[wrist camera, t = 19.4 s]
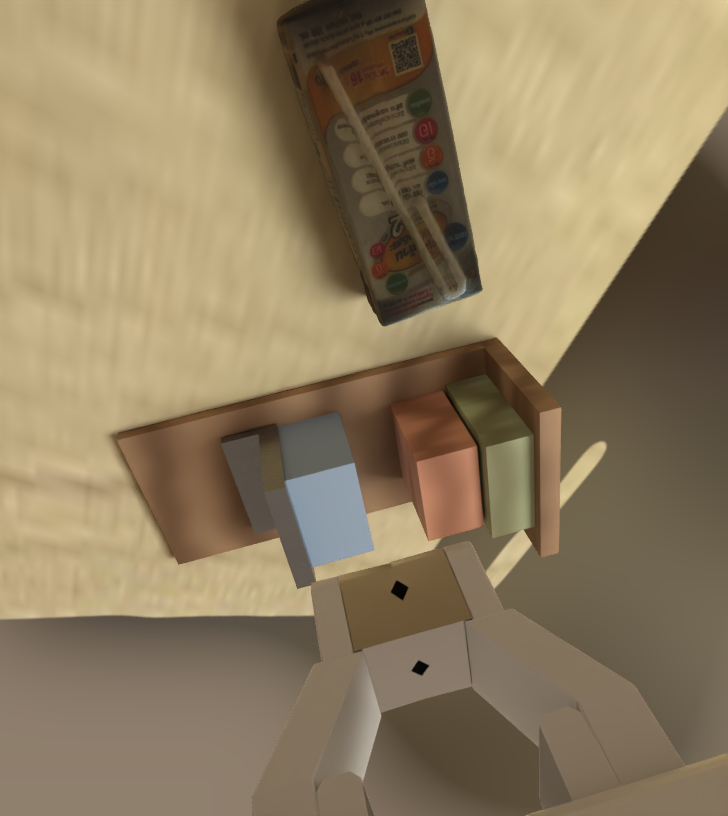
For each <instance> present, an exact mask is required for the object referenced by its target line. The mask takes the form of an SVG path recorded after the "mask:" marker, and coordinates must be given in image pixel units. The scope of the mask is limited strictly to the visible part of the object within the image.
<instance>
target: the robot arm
mask: <svg viewBox="0 0 728 816" xmlns="http://www.w3.org/2000/svg"><path fill="white" fill-rule="evenodd" d="M311 595H312V602H313V609H314V615H315V622H316V628H317V635H318V641H319V648H320V655H321V661H322V662H320V663H317V664H314V665H313V667H312V669H311V671H310V673H309V675H308V678H307V680H306V682H305V684H304V686H303V689H302V691H301V693H300V695H299V697H298V699H297V701H296V703H295V706H294V708H293V710H292V712H291V714H290V716H289V719H288V721H287V723H286V726H285V727H284V729H283V731H282V734H281V736H280V738H279V740H278V742H277V745H276V747H275V749H274V751H273V753H272V755H271V757H270V759H269V762H268V764H267V766H266V768H265V770H264V772H263V775H262V777H261V779H260V781H259V783H258V785H257V787H256V790H255V792H254V794H253V796H252V816H374V814H373V811H372V808H371V805H370V802H369V799H368V797H367V793H366V791H365V788H364V785H363V778H364V775H365V771H366V768H367V764H368V761H369V757H370V754H371V750H372V747H373V743H374V740H375V736H376V733H377V729H378V725H379V722H380V718H381V714H380V713H382V712H384V711H388V710H391V709H394V708H397V707H400V706H403V705H406V704H410V703H412V702H415V701H419V700H422V699H425V698H429V697H432V696H436V695H440V694H444V693H448V692H452V691H456V690H459V689H463V688H467V687H471V686H473V689H474V690H475V691H476V692H477V693H479V694H480V695H481V696H482V697H483V698H484V699H485V700H486V701H488V702H489V703H490V704H491V705H492V706H493V707H494V708H495V709H497V710H498V711H499V712H500V713H501V714H502V715H503V716H505V718H507V719H508V720H509V721H510V722H511V723H512V724H513V725H514V726H516V727H517V728H518V729H519V730H520V731H521V732H522V733H523V734H525V735H526V736H527V737H528V738H529V739H530V740H531V741H532V742H533V743H535V744H536V745H537V746H538V747H539V781H540V782H539V789H540V790H539V796H540V797H539V798H540V799H539V800H540V802H541V805H542V807H543V810H542V811H538V812H535V813H532V814H528V815H525V816H728V753H726V754H723V755H720V756H716V757H713V758H710V759H707V760H704V761H700V762H697V763H694V764H691V765H687V766H685V765H684V763H683V761H682V760H681V758H680V757H679V755H678V753H677V752H676V750H675V749H674V747H673V746H672V744H671V742H670V741H669V739H668V738H667V736H666V734H665V733H664V731H663V730H662V728H661V726H660V725H659V723H658V722H657V720H656V719H655V717H654V715H653V714H652V712H651V711H650V709H649V707H648V706H647V704H646V703H645V701H644V700H643V698H642V696H641V695H640V693H639V692H638V690H637V688H636V687H635V686H634V685H633V684H632V683H630V682H628V681H627V680H625V679H624V678H622V677H621V676H619V675H618V674H616V673H614V672H613V671H611V670H610V669H608V668H606V667H605V666H603V665H602V664H600V663H598V662H597V661H595V660H594V659H592V658H590V657H589V656H587V655H586V654H584V653H582V652H581V651H579V650H578V649H576V648H574V647H573V646H571V645H570V644H568V643H566V642H565V641H563V640H562V639H560V638H558V637H557V636H555V635H554V634H552V633H551V632H549V631H547V630H546V629H544V628H543V627H541V626H539V625H538V624H536V623H535V622H533V621H531V620H530V619H528V618H527V617H525V616H523V615H522V614H520V613H518V612H517V611H515V610H514V609H509V610H504V609H503V607H502V605H501V603H500V601H499V599H498V597H497V595H496V593H495V591H494V588H493V586H492V584H491V582H490V580H489V578H488V576H487V574H486V572H485V570H484V568H483V566H482V564H481V562H480V560H479V558H478V556H477V554H476V552H475V550H474V548H473V546H472V544H471V543H470V542H469V541H465V542H462V543H458V544H454V545H451V546H447V547H444V548H442V549H441V548H439V549H435V550H432V551H428V552H425V553H421V554H418V555H414V556H411V557H407V558H404V559H400V560H397V561H393V562H390V563H389V564H385V565H381V566H376V567H372V568H368V569H364V570H360V571H356V572H352V573H348V574H344V575H340V576H339V577H338V576H337V577H333V578H329V579H325V580H321V581H317V582H313V583H311Z"/></svg>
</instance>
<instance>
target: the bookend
mask: <svg viewBox="0 0 728 816" xmlns="http://www.w3.org/2000/svg"><path fill="white" fill-rule="evenodd" d="M221 446H222V448H223V451H224V454H225V456H226V459H227V462H228V464H229V467H230V469H231V472H232V475H233V477H234V480H235V483H236V485H237V488H238V491H239V493H240V496H241V498H242V501H243V504H244V506H245V509H246V512H247V514H248V517H249V519H250V522H251V525H252V527H253V530H254V533H255V534H259V533H262V532H266V531H270V530H274V529H277V532H278V534H279V537H280V540H281V543H282V546H283V549H284V552H285V554H286V557H287V560H288V563H289V566H290V569H291V572H292V574H293V577H294V580H295V583H296V586H297V589H299V588H303V587H306V586H310V585H311V583H313V582H316V578H315V572H314V567H313V566H312V563H311V560H310V556H309V553H308V550H307V547H306V544H305V541H304V538H303V534H302V531H301V528H300V525H299V522H298V519H297V516H296V513H295V509H294V506H293V503H292V500H291V497H290V494H289V491H288V487H287V484H286V481H285V474H284V467H283V460H282V453H281V446H280V439H279V432H278V427H277V424H274V425H270V426H266V427H262V428H258V429H254V430H250V431H246V432H243V433H239V434H235V435H231V436H227V437H223V438H221Z"/></svg>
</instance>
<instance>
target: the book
mask: <svg viewBox="0 0 728 816" xmlns="http://www.w3.org/2000/svg"><path fill="white" fill-rule="evenodd" d="M278 432H279V439H280V446H281V453H282V460H283V467H284V474H285V481H286V484H287V487H288V491H289V494H290V497H291V500H292V503H293V506H294V509H295V513H296V516H297V519H298V522H299V525H300V528H301V531H302V534H303V538H304V541H305V544H306V547H307V550H308V553H309V556H310V560H311V563H312V566H313V567H316V566H319V565H323V564H327V563H330V562H334V561H337V560H341V559H345V558H348V557H352V556H356V555H359V554H363V553H366V552H370V551H374V546H373V542H372V538H371V533H370V529H369V525H368V520H367V516H366V512H365V507H364V503H363V498H362V494H361V490H360V485H359V481H358V477H357V472H356V468H355V464H354V460H353V457H352V454H351V451H350V447H349V444H348V441H347V438H346V434H345V431H344V428H343V425H342V422H341V418H340V415H339V412H334V413H330V414H326V415H322V416H318V417H314V418H310V419H306V420H303V421H299V422H295V423H291V424H287V425H283V426H279V427H278Z"/></svg>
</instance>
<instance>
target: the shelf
mask: <svg viewBox="0 0 728 816" xmlns="http://www.w3.org/2000/svg"><path fill="white" fill-rule="evenodd" d="M334 412H339V415H340V418H341V422H342V425H343V428H344V431H345V434H346V438H347V441H348V444H349V447H350V451H351V454H352V457H353V460H354V464H355V468H356V472H357V477H358V481H359V485H360V490H361V494H362V498H363V503H364V507H365V512H366V514H367V513H371V512H375V511H378V510H382V509H386V508H390V507H393V506H397V505H401V504H404V503H408V502H413V504H414V507H415V509H416V512H417V514H418V516H419V519H420V521H421V524H422V526H423V529H424V531H425V533H426V536H427V538H428V541H431V540H435V539H438V538H442V537H446V536H449V535H453V534H456V533H460V532H463V531H467V530H471V529H474V528H478V527H482V526H483V522H484V524H485V526H486V528H487V529H488V531H489V533H490V535H491V537H492V538H495V537H499V536H503V535H506V534H510V533H513V532H517V531H520V530H524V531H525V533H526V534H527V536H528V538H529V539H530V541H531V542H532V544H533V546H534V547H535V549H536V550H537V552H538V554H539V555H540V557H545V556H548V555H552V554H556V553H559V508H560V449H561V448H560V447H561V406H560V405H559V404H558V403H557V402H556V401H555V400H554V399H553V398H552V397H551V396H550V395H549V393H548V392H547V391H546V390H545V389H544V388H543V387H542V386H541V385H540V384H539V383H538V382H537V380H536V379H535V378H534V377H533V376H532V375H531V374H530V373H529V372H528V371H527V370H526V368H525V367H524V366H523V365H522V364H521V363H520V362H519V361H518V360H517V359H516V358H515V357H514V355H513V354H512V353H511V352H510V351H509V350H508V349H507V348H506V347H505V346H504V345H503V344H502V342H501V341H500V340H499V339H498V338H495V339H491V340H487V341H483V342H479V343H475V344H471V345H467V346H463V347H459V348H455V349H451V350H447V351H443V352H439V353H435V354H431V355H427V356H423V357H419V358H415V359H411V360H407V361H403V362H399V363H395V364H391V365H388V366H384V367H380V368H376V369H372V370H368V371H364V372H360V373H356V374H352V375H348V376H344V377H340V378H336V379H332V380H328V381H324V382H320V383H316V384H312V385H308V386H304V387H300V388H296V389H292V390H288V391H284V392H280V393H276V394H272V395H268V396H264V397H260V398H256V399H252V400H249V401H245V402H241V403H237V404H233V405H229V406H225V407H221V408H217V409H213V410H209V411H205V412H201V413H197V414H193V415H189V416H185V417H181V418H177V419H173V420H169V421H165V422H161V423H157V424H153V425H149V426H145V427H141V428H137V429H133V430H129V431H125V432H121V433H118V437H117V442H118V444H119V446H120V448H121V450H122V452H123V454H124V456H125V458H126V460H127V462H128V464H129V466H130V468H131V470H132V472H133V474H134V476H135V478H136V480H137V482H138V484H139V486H140V488H141V490H142V492H143V494H144V496H145V498H146V500H147V502H148V504H149V506H150V508H151V510H152V512H153V514H154V516H155V518H156V520H157V522H158V524H159V526H160V528H161V530H162V532H163V534H164V536H165V538H166V540H167V542H168V544H169V546H170V548H171V550H172V552H173V554H174V556H175V558H176V560H177V562H178V564H183V563H186V562H190V561H194V560H197V559H201V558H205V557H209V556H212V555H216V554H220V553H223V552H227V551H231V550H234V549H238V548H242V547H245V546H249V545H253V544H257V543H260V542H264V541H268V540H271V539H275V538H279V534H278V532H277V529H274V530H270V531H266V532H262V533H259V534H255V533H254V530H253V527H252V525H251V522H250V519H249V517H248V514H247V512H246V509H245V506H244V504H243V501H242V498H241V496H240V493H239V491H238V488H237V485H236V483H235V480H234V477H233V475H232V472H231V469H230V467H229V464H228V462H227V459H226V456H225V454H224V451H223V448H222V446H221V438H223V437H227V436H231V435H235V434H239V433H243V432H246V431H250V430H254V429H258V428H262V427H266V426H270V425H274V424H277V427H279V426H283V425H287V424H291V423H295V422H299V421H303V420H306V419H310V418H314V417H318V416H322V415H326V414H330V413H334Z"/></svg>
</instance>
